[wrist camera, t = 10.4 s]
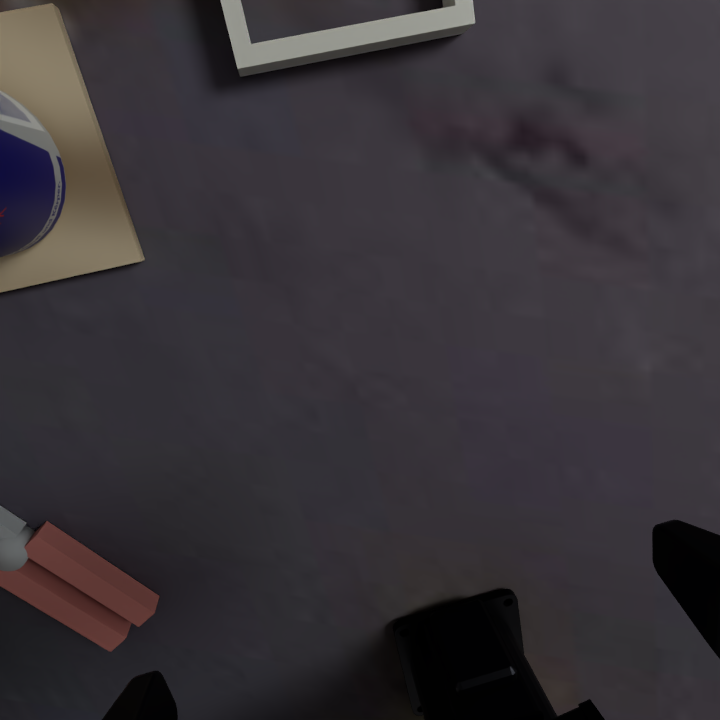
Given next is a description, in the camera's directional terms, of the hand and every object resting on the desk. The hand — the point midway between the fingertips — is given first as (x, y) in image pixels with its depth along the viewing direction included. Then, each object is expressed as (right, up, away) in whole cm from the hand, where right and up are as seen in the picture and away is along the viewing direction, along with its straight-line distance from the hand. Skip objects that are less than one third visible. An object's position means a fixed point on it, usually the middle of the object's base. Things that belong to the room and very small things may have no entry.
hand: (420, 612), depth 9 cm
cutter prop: (-15, -4, +13) cm, 20 cm away
